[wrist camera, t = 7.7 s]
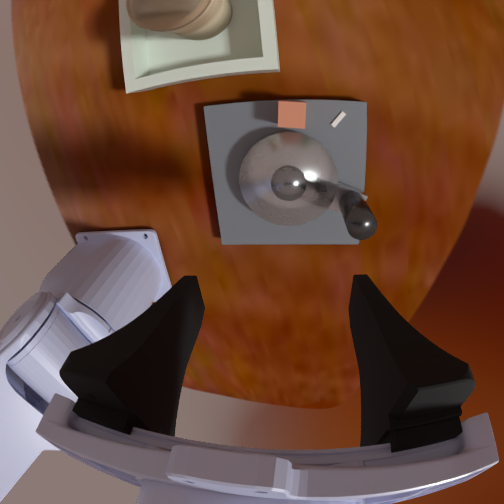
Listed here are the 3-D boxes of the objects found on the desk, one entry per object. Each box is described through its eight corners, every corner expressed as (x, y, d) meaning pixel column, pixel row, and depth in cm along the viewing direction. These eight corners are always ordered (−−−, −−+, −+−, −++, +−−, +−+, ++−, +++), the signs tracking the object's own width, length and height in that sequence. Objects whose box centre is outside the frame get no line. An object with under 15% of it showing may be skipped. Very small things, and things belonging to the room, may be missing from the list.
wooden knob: (174, 49, 15) (129, 41, 10) (168, -3, 12) (124, -25, 8) (239, 36, 14) (215, 17, 9) (232, -18, 12) (207, -52, 7)
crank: (231, 205, 20) (218, 232, 17) (255, 118, 17) (246, 126, 13) (343, 241, 21) (352, 273, 17) (379, 163, 17) (399, 182, 14)
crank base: (224, 239, 23) (217, 255, 21) (206, 105, 17) (196, 108, 15) (356, 238, 21) (362, 255, 19) (363, 101, 16) (373, 103, 14)
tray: (144, 91, 17) (126, 93, 15) (136, -17, 12) (118, -25, 10) (280, 71, 16) (278, 69, 13) (267, -45, 10) (263, -60, 8)
